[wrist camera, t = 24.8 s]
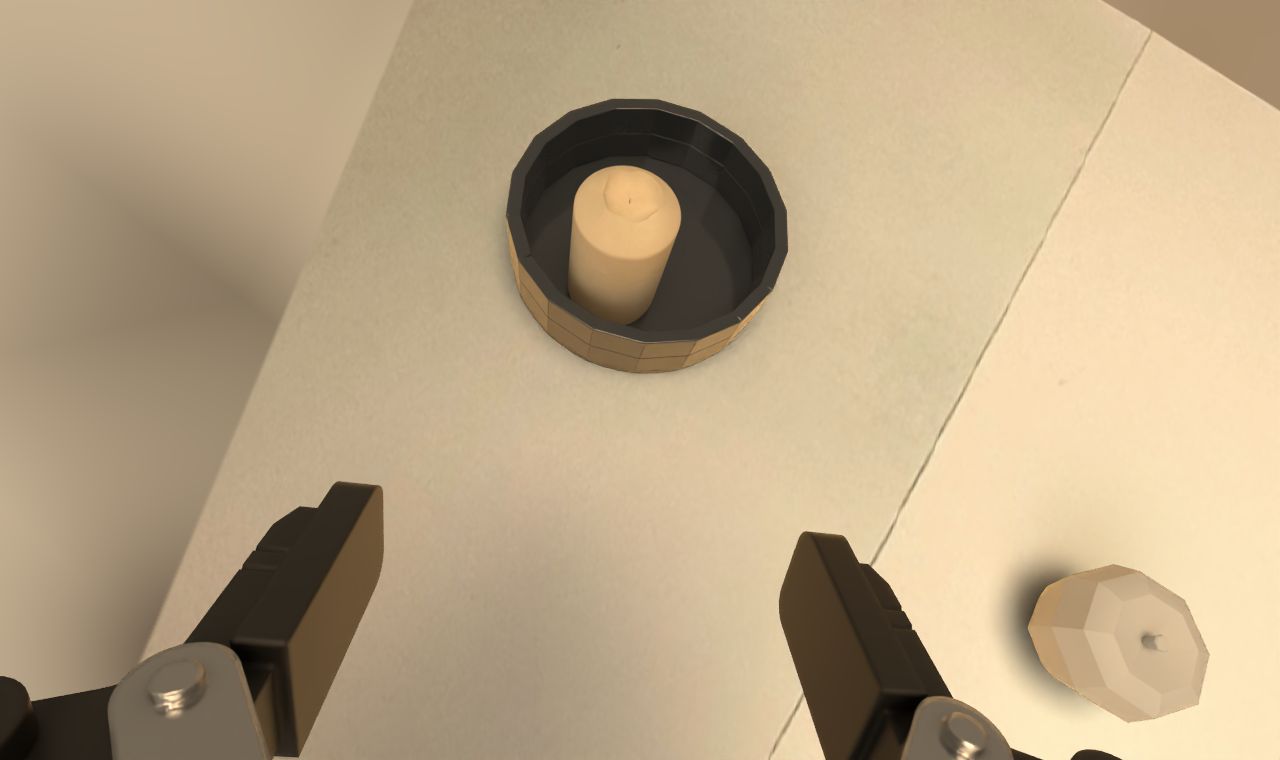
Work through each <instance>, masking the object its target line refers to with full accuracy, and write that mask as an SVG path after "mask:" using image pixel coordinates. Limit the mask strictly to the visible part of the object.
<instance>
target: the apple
mask: <svg viewBox="0 0 1280 760" xmlns="http://www.w3.org/2000/svg"><path fill="white" fill-rule="evenodd" d="M1028 631H1029V633H1030V636H1031V638H1032V641H1033V643H1034V646H1035V648H1036V651H1037V653H1038V656H1039V658H1040V661H1041V663H1042V665H1043V666H1044V667H1045V669H1046V670H1047V671H1048V672H1049V673H1050V675H1051V676H1053V677H1054V678H1056V679H1058V680H1059V681H1061V682H1062V683H1064V684H1065V685H1067V686H1069V687H1070V688H1072V689H1073V690H1075V691H1076V692H1078V693H1079V694H1081V695H1083V696H1084V697H1086V698H1087V699H1089V700H1090V701H1092V702H1094V703H1095V704H1097V705H1099V706H1100V707H1102V708H1104V709H1105V710H1107V711H1109V712H1111V713H1112V714H1114V715H1116V716H1117V717H1119V718H1121V719H1122V720H1124V721H1126V722H1128V723H1129V722H1136V721H1143V720H1149V719H1156V718H1159V717H1162V716H1165V715H1168V714H1171V713H1174V712H1177V711H1180V710H1183V709H1186V708H1189V707H1192V706H1195V705H1198V702H1199V698H1200V694H1201V689H1202V685H1203V681H1204V676H1205V672H1206V668H1207V663H1208V659H1209V653H1208V650H1207V648H1206V646H1205V644H1204V641H1203V639H1202V637H1201V635H1200V633H1199V630H1198V628H1197V626H1196V624H1195V622H1194V619H1193V617H1192V615H1191V613H1190V610H1189V608H1188V606H1187V604H1186V602H1185V600H1184V599H1182V598H1180V597H1179V596H1177V595H1176V594H1174V593H1173V592H1171V591H1170V590H1168V589H1167V588H1165V587H1163V586H1162V585H1160V584H1159V583H1157V582H1156V581H1154V580H1153V579H1151V578H1149V577H1148V576H1146V575H1145V574H1143V573H1142V572H1140V571H1137V570H1133V569H1129V568H1125V567H1122V566H1118V565H1114V564H1113V565H1109V566H1105V567H1102V568H1098V569H1094V570H1090V571H1086V572H1082V573H1078V574H1074V575H1071V576H1067V577H1065V578H1063V579H1061V580H1059V581H1057V582H1055V583H1053V584H1051V585H1048V586H1046V588H1045V589H1044V591H1043V592H1042V594H1041V595H1040V597H1039V599H1038V601H1037V604H1036V607H1035V609H1034V612H1033V615H1032V617H1031V620H1030V623H1029V625H1028Z"/></svg>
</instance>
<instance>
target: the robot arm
mask: <svg viewBox="0 0 1280 760" xmlns="http://www.w3.org/2000/svg"><path fill="white" fill-rule="evenodd" d="M383 553H384V535H383V490H382V487H381V486H378V485H369V484H359V483H350V482H340V481H338V482H336V483H335V484H334V485H333V486H332V487H331V489H330V490H329V492H328V493H327V495H326V496H325V498H324V499H323V501H322V502H321V504H320V505H319V507H318V508H311V507H301V506H300V507H298V508H297V509H295V510H294V511H292V512H291V513H289V514H288V515H286V516H285V517H283V518H282V519H280V520H279V521H277V522H276V523H274V524H273V525H272V526H271V528H270V529H269V530H268V532H267V533H266V534H265V536H264V537H263V538H262V540H261V541H260V542H259V544H258V545H257V548H256V551H253V552H252V553H251V554H250V556H249V557H248V558H247V560H246V561H245V563H244V564H243V567H242V570H239V571H238V572H237V573H236V575H235V576H234V577H233V579H232V580H231V581H230V583H229V584H228V585H227V587H226V588H225V589H224V591H223V592H222V593H221V595H220V596H219V597H218V599H217V600H216V601H215V603H214V604H213V605H212V607H211V608H210V609H209V611H208V612H207V613H206V615H205V616H204V617H203V619H202V620H201V621H200V623H199V624H198V625H197V627H196V628H195V629H194V631H193V632H192V633H191V635H190V636H189V637H188V639H187V640H186V641H185V642H184V644H183V645H179V646H175V647H172V648H169V649H167V650H164V651H162V652H159V653H157V654H155V655H153V656H151V657H149V658H148V659H146V660H145V661H143V662H142V663H140V664H138V665H137V666H136V667H135V668H133V669H132V670H131V671H130V672H129V673H128V674H127V675H126V676H125V677H124V678H123V679H122V680H121V681H120V682H119V684H117V685H114V686H110V687H105V688H101V689H96V690H91V691H85V692H80V693H75V694H70V695H64V696H58V697H53V698H48V699H43V700H37V701H30V698H29V695H28V693H27V690H26V688H25V687H24V686H23V685H22V684H21V683H20V682H18V681H17V680H15V679H12V678H8V677H5V676H0V760H272V759H273V757H274V756H284V757H299V755H300V753H301V751H302V749H303V747H304V744H305V742H306V740H307V738H308V736H309V733H310V731H311V729H312V727H313V724H314V722H315V720H316V718H317V716H318V713H319V711H320V709H321V707H322V705H323V702H324V700H325V698H326V696H327V694H328V691H329V689H330V687H331V685H332V682H333V680H334V678H335V676H336V674H337V671H338V669H339V667H340V665H341V663H342V660H343V658H344V656H345V654H346V652H347V649H348V647H349V645H350V643H351V640H352V638H353V636H354V634H355V632H356V629H357V627H358V625H359V623H360V621H361V618H362V616H363V614H364V612H365V610H366V607H367V605H368V603H369V601H370V598H371V596H372V594H373V592H374V590H375V587H376V585H377V582H378V579H379V576H380V572H381V567H382V562H383ZM779 614H780V620H781V624H782V627H783V630H784V633H785V636H786V639H787V642H788V646H789V649H790V652H791V655H792V658H793V661H794V664H795V667H796V670H797V673H798V676H799V679H800V682H801V685H802V689H803V692H804V695H805V698H806V701H807V704H808V707H809V710H810V713H811V716H812V719H813V722H814V725H815V728H816V732H817V735H818V738H819V741H820V744H821V747H822V750H823V753H824V756H825V759H826V760H1042V759H1039V758H1036V757H1034V756H1031V755H1028V754H1025V753H1023V752H1020V751H1017V750H1015V749H1012V748H1010V746H1009V745H1008V743H1007V741H1006V739H1005V738H1004V736H1003V735H1002V734H1001V732H1000V731H999V730H998V729H997V727H996V726H995V725H994V724H993V723H992V722H991V721H990V720H989V719H987V718H986V717H985V716H984V715H983V714H981V713H980V712H979V711H977V710H976V709H974V708H973V707H971V706H969V705H967V704H965V703H963V702H961V701H959V700H956V699H953V697H952V695H951V693H950V692H949V690H948V688H947V686H946V685H945V683H944V681H943V679H942V677H941V676H940V674H939V672H938V670H937V669H936V667H935V665H934V663H933V661H932V660H931V658H930V656H929V654H928V653H927V651H926V649H925V647H924V646H923V644H922V642H921V640H920V638H919V637H918V635H917V633H916V631H915V630H912V624H911V623H910V621H909V619H908V617H907V615H906V614H905V612H904V611H902V610H901V605H900V603H899V601H898V600H897V598H896V596H895V594H894V592H893V591H892V589H891V587H890V585H889V584H888V583H887V582H886V581H885V580H884V579H883V578H882V577H881V576H880V575H879V574H878V573H877V572H876V571H875V570H874V569H873V568H872V567H871V566H869V565H868V564H861V563H859V562H858V560H857V558H856V556H855V554H854V552H853V551H852V549H851V547H850V545H849V543H848V541H847V540H846V538H845V537H844V536H842V535H835V534H826V533H816V532H807V531H806V532H803V533H802V534H801V535H800V537H799V539H798V542H797V545H796V548H795V551H794V554H793V556H792V559H791V562H790V565H789V568H788V571H787V574H786V576H785V579H784V582H783V585H782V588H781V592H780V598H779ZM1071 760H1121V759H1120V758H1118V757H1115V756H1113V755H1111V754H1108V753H1105V752H1102V751H1098V750H1088V749H1086V750H1081V751H1079V752H1077V753H1076V754H1075V755H1074V756H1073V757H1072V758H1071Z"/></svg>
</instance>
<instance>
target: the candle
mask: <svg viewBox="0 0 1280 760" xmlns="http://www.w3.org/2000/svg"><path fill="white" fill-rule="evenodd" d="M680 223H681V210H680V205H679V202H678V200H677V198H676V196H675V194H674V192H673V191H672V189H671V188H670V187H669V186H668V185H667V184H666V183H665V182H664V181H663V180H662V179H661V178H659V177H658V176H656V175H655V174H653V173H651V172H649V171H647V170H644V169H641V168H638V167H633V166H612V167H608V168H604V169H601V170H599V171H597V172H595V173H593V174H592V175H591V176H589V177H588V178H587V179H586V180H585V181H584V182H583V183H582V184H581V186H580V187H579V189H578V191H577V193H576V196H575V200H574V207H573V219H572V232H571V245H570V258H569V270H568V291H569V295H570V298H571V300H572V301H574V302H575V303H577V304H578V305H580V306H581V307H583V308H584V309H586V310H587V311H589V312H590V313H592V314H593V315H595V316H596V317H598V318H600V319H604V320H608V321H611V322H615V323H619V324H622V325H627V324H630V323H632V322H634V321H636V320H637V319H639V318H640V317H641V316H642V315H643V314H644V313H645V312H646V311H647V309H648V308H649V306H650V305H651V302H652V300H653V298H654V295H655V293H656V290H657V287H658V285H659V282H660V279H661V276H662V274H663V271H664V268H665V266H666V263H667V260H668V258H669V255H670V252H671V249H672V247H673V244H674V241H675V239H676V236H677V233H678V230H679V227H680Z"/></svg>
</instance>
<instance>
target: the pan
mask: <svg viewBox="0 0 1280 760" xmlns="http://www.w3.org/2000/svg"><path fill="white" fill-rule="evenodd" d="M612 166H633V167H638V168H641V169H644V170H647V171H649V172H651V173H653V174H655V175H656V176H658V177H659V178H661V179H662V180H663V181H664V182H665V183H666V184H667V185H668V186H669V187H670V188H671V189H672V191H673V192H674V194H675V196H676V198H677V200H678V202H679V205H680V210H681V223H680V227H679V230H678V233H677V236H676V239H675V241H674V244H673V247H672V249H671V252H670V255H669V258H668V260H667V263H666V266H665V268H664V271H663V274H662V276H661V279H660V282H659V285H658V287H657V290H656V293H655V295H654V298H653V300H652V302H651V305H650V306H649V308H648V309H647V311H646V312H645V313H644V314H643V315H642V316H641V317H640V318H639V319H637V320H636V321H634V322H632V323H630V324H627V325H622V324H619V323H615V322H611V321H608V320H604V319H600V318H598V317H596V316H595V315H593V314H592V313H590V312H589V311H587V310H586V309H584V308H583V307H581V306H580V305H578V304H577V303H575V302H574V301H572V300H571V298H570V295H569V291H568V270H569V258H570V245H571V232H572V219H573V207H574V200H575V196H576V193H577V191H578V189H579V187H580V186H581V184H582V183H583V182H584V181H585V180H586V179H587V178H588V177H589V176H591V175H592V174H593V173H595V172H597V171H599V170H601V169H604V168H608V167H612ZM506 221H507V231H508V241H509V251H510V258H511V262H512V266H513V269H514V275H515V279H516V282H517V285H518V289H519V292H520V295H521V297H522V299H523V300H524V302H525V304H526V306H527V307H528V309H529V310H530V312H531V314H532V315H533V317H534V318H535V319H536V320H537V322H538V323H539V324H540V325H541V326H542V328H543V329H544V330H545V331H546V332H547V333H548V334H549V335H550V336H552V337H553V338H554V339H555V340H556V341H557V342H558V343H560V344H561V345H563V346H564V347H565V348H567V349H568V350H570V351H571V352H573V353H575V354H577V355H578V356H580V357H582V358H584V359H586V360H588V361H591V362H593V363H596V364H598V365H601V366H604V367H607V368H611V369H616V370H620V371H626V372H634V373H659V372H667V371H674V370H677V369H681V368H685V367H689V366H691V365H694V364H696V363H698V362H701V361H703V360H705V359H707V358H708V357H710V356H712V355H714V354H715V353H717V352H719V351H720V350H722V349H723V348H724V347H725V346H726V345H727V344H728V343H730V341H731V340H732V339H733V338H734V337H735V336H736V335H737V334H738V333H739V332H740V331H741V330H742V329H743V328H744V327H745V326H746V325H747V324H748V323H749V321H750V320H751V319H752V317H753V316H754V315H755V313H756V312H757V311H758V309H759V308H760V307H761V305H762V304H763V303H764V301H765V300H766V299H767V297H768V296H769V295H770V293H771V292H772V291H773V289H774V286H775V283H776V281H777V278H778V276H779V273H780V271H781V268H782V265H783V263H784V260H785V258H786V255H787V253H788V238H787V210H786V207H785V205H784V203H783V200H782V198H781V196H780V193H779V191H778V188H777V186H776V184H775V181H774V179H773V177H772V174H771V172H770V171H769V168H768V167H767V166H766V165H765V164H764V163H763V162H762V161H761V159H760V158H759V157H758V156H757V155H756V154H755V153H754V151H753V150H752V149H751V148H750V147H749V146H748V145H747V143H746V142H745V141H744V140H743V139H742V138H741V137H740V136H738V135H737V134H735V133H733V132H732V131H730V130H729V129H727V128H726V127H724V126H722V125H721V124H719V123H718V122H716V121H714V120H713V119H711V118H710V117H708V116H706V115H705V114H703V113H702V112H699V111H696V110H692V109H689V108H686V107H682V106H679V105H676V104H672V103H669V102H665V101H662V100H658V99H610V100H607V101H603V102H600V103H596V104H593V105H590V106H586V107H583V108H579V109H576V110H573V111H570V112H568V113H567V114H565V115H564V116H563V117H561V118H560V119H558V120H557V121H556V122H554V123H553V124H551V125H550V126H549V127H547V128H546V129H545V130H543V131H542V132H540V133H539V134H538V135H536V136H535V137H534V139H533V140H532V142H531V143H530V145H529V147H528V148H527V150H526V151H525V153H524V155H523V156H522V158H521V159H520V161H519V163H518V164H517V166H516V167H515V169H514V170H513V173H512V177H511V184H510V190H509V197H508V204H507V211H506Z"/></svg>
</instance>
